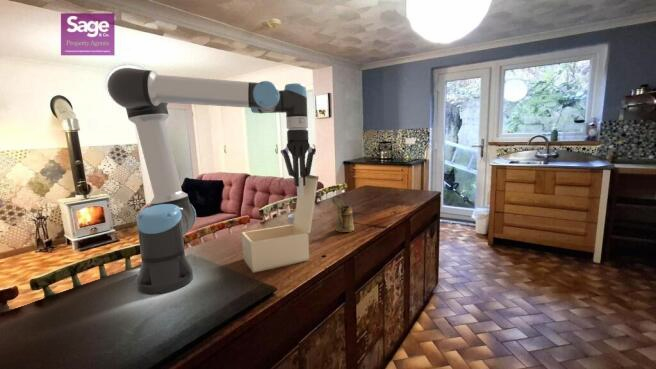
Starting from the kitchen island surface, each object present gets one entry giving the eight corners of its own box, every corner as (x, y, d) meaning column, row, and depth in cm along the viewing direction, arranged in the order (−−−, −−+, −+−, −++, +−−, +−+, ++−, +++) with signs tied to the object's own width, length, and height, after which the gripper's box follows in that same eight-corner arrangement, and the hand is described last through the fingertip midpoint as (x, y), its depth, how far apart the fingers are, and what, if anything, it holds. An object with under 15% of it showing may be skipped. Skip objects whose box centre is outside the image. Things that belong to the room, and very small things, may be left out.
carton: (253, 272, 100) (251, 243, 99) (243, 258, 112) (241, 232, 111) (309, 260, 109) (308, 233, 108) (294, 248, 122) (293, 224, 120)
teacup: (300, 235, 139) (300, 218, 138) (283, 231, 146) (283, 215, 144) (320, 228, 150) (319, 212, 149) (303, 225, 156) (302, 209, 155)
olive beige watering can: (327, 234, 140) (326, 195, 137) (341, 226, 151) (340, 190, 149) (345, 236, 135) (344, 196, 133) (357, 228, 147) (357, 191, 144)
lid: (316, 176, 107) (318, 176, 107) (300, 173, 119) (302, 173, 120) (308, 232, 108) (310, 232, 108) (293, 223, 120) (295, 224, 121)
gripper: (283, 129, 103) (287, 198, 106) (318, 128, 109) (320, 194, 112) (276, 130, 110) (280, 195, 113) (309, 129, 116) (312, 191, 119)
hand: (300, 195), depth 113 cm, fingers closed
